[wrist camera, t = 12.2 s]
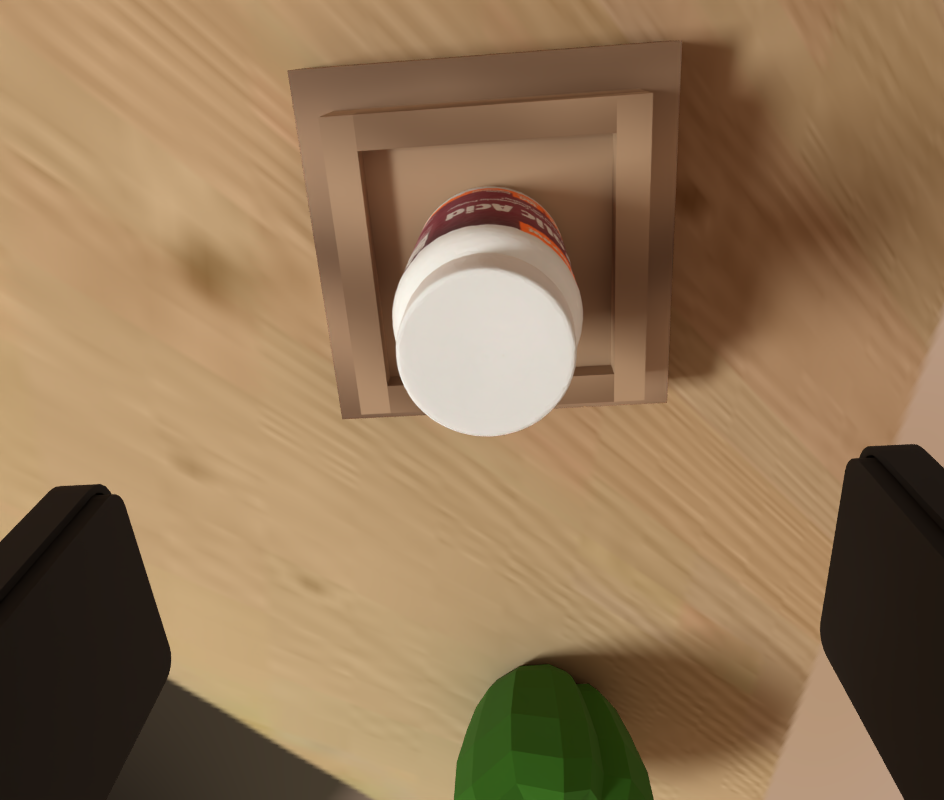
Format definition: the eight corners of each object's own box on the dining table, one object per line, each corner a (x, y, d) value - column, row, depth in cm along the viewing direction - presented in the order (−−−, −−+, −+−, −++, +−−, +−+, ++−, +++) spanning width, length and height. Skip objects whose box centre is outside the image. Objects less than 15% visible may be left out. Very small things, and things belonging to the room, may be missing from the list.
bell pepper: (422, 716, 38) (399, 929, 29) (523, 611, 35) (532, 811, 26) (557, 787, 40) (575, 1008, 31) (663, 693, 37) (718, 907, 28)
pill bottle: (585, 208, 24) (629, 287, 16) (536, 347, 25) (553, 475, 18) (437, 162, 23) (408, 220, 15) (398, 307, 25) (356, 421, 17)
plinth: (302, 68, 25) (267, 72, 21) (668, 40, 25) (701, 40, 21) (351, 396, 30) (330, 448, 26) (656, 380, 30) (680, 431, 26)
